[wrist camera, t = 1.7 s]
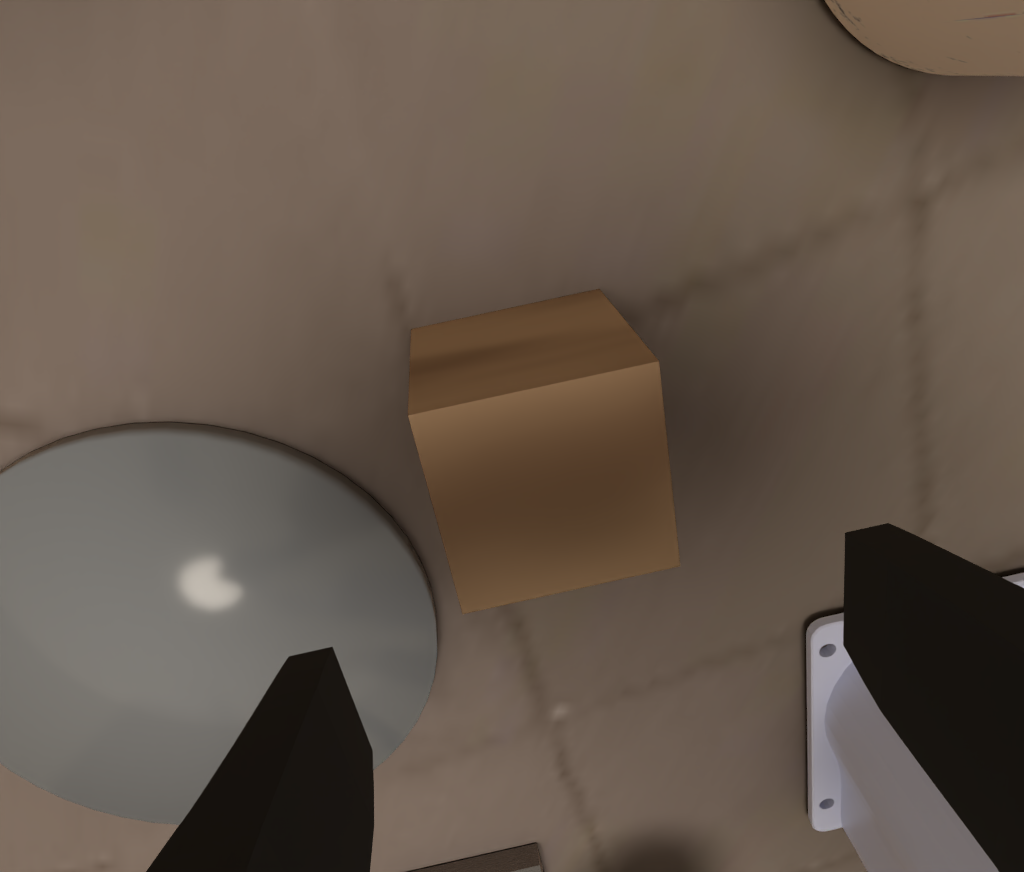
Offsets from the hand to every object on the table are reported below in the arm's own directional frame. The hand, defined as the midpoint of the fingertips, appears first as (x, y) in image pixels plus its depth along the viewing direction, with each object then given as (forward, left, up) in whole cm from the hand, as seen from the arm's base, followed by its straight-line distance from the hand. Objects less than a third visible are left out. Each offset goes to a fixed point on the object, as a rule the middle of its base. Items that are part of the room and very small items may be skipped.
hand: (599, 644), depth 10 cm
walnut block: (0, 0, -9) cm, 9 cm away
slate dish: (-5, +10, -9) cm, 14 cm away
